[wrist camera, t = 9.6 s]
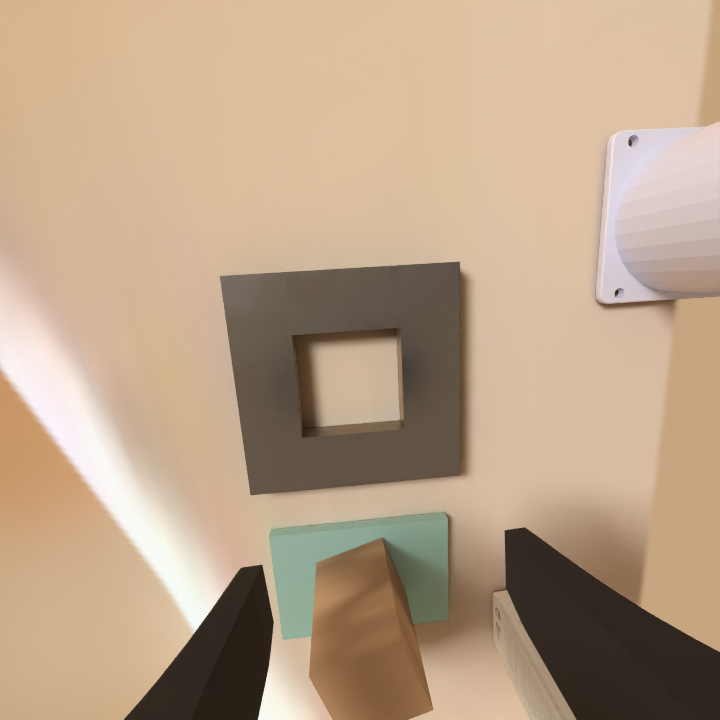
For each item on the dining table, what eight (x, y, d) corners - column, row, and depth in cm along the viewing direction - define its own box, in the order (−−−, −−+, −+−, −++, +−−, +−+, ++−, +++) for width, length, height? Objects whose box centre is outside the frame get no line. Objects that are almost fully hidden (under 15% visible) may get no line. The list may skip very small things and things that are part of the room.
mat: (444, 512, 21) (447, 518, 20) (445, 611, 22) (448, 620, 22) (270, 529, 20) (269, 536, 20) (284, 630, 22) (282, 639, 21)
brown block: (382, 537, 20) (401, 640, 14) (405, 591, 21) (433, 709, 15) (316, 562, 20) (308, 676, 14) (342, 615, 21) (345, 743, 15)
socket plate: (451, 263, 18) (459, 261, 17) (452, 464, 20) (460, 475, 19) (227, 276, 17) (219, 276, 16) (255, 482, 20) (250, 495, 18)
